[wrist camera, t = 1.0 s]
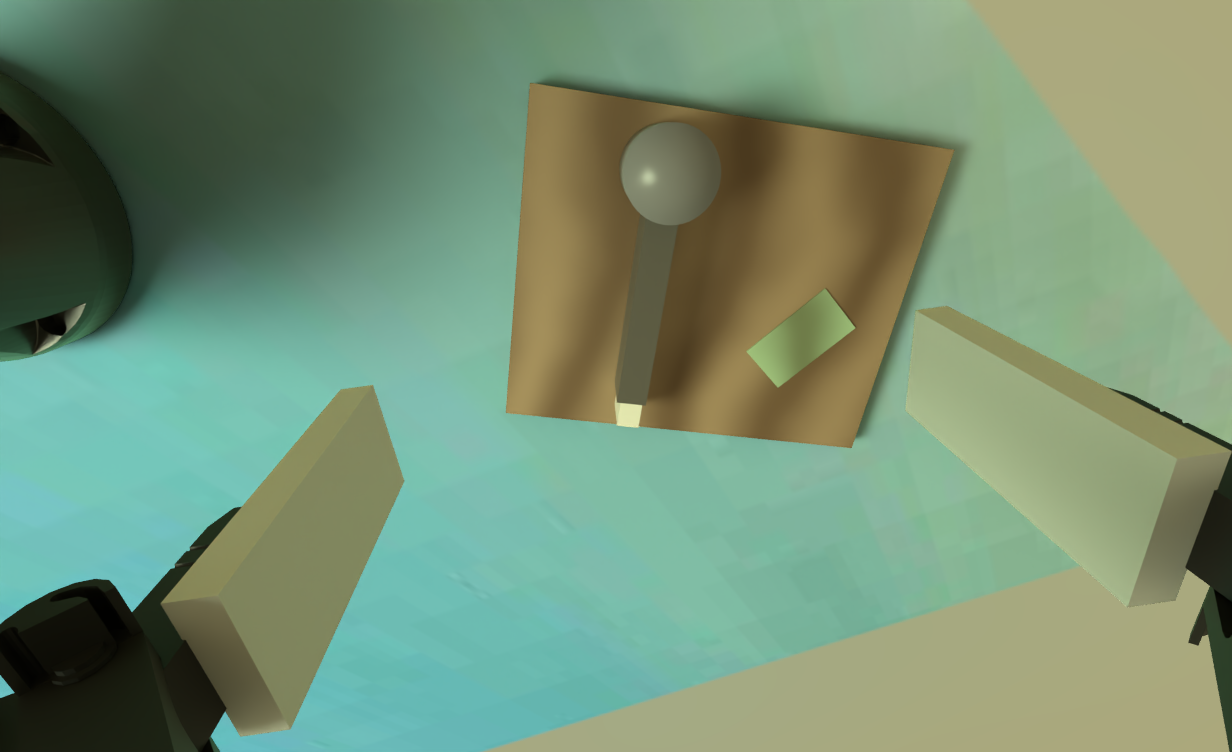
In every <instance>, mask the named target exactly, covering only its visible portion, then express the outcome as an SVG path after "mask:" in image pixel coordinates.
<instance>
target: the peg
mask: <svg viewBox="0 0 1232 752" xmlns="http://www.w3.org/2000/svg"><path fill="white" fill-rule="evenodd" d="M619 174H620V180H621V184H622V187H623V189H624V191H625V193H626V195H627V196H628V198H629V200H630V202H631V203H632V205H633V206H634V208H635V209H636V210H637V211H638V212H639V213H640V218H639V225H638V231H637V238H636V244H635V251H634V258H633V264H632V271H631V277H630V284H629V290H628V297H627V303H626V310H625V317H624V323H623V330H622V336H621V343H620V349H619V356H618V363H617V369H616V376H615V390H616V398H615V411H616V421H617V426H626V427H636V428H638V427H639V421H640V415H641V410H642V405H644V406H646V402H647V397H648V391H649V385H650V380H651V374H652V369H653V363H654V357H655V352H656V346H657V341H658V335H659V329H660V324H661V318H662V313H663V307H664V301H665V296H666V290H667V285H668V279H669V273H670V268H671V262H672V257H673V251H674V246H675V240H676V234H677V229H678V225H679V224H684V223H686V222H689V221H691V220H693V219H695V218H697V217H698V216H700V215H701V214H702V213H703V212H704V211H705V210H706V209H707V208H708V207H709V206H710V204H711V203H712V201H713V200H714V198H715V196H716V194H717V191H718V189H719V185H720V180H721V163H720V158H719V155H718V152H717V150H716V148H715V146H714V144H713V143H712V141H711V140H710V139H709V138H708V137H707V135H706V134H704V133H703V132H702V131H701V130H699V129H697V128H696V127H694V126H691V125H689V124H685V123H678V122H661V123H654V124H651V125H648V126H646V127H644V128H642V129H640V130H639V131H637V132H636V133H635V134H634V135H633V136H632V137H631V138H630V140H629V141H628V142H627V144H626V145H625V147H624V150H623V152H622V155H621V159H620V165H619Z"/></svg>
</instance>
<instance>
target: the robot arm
mask: <svg viewBox="0 0 1232 752" xmlns="http://www.w3.org/2000/svg"><path fill="white" fill-rule="evenodd" d="M131 269H132V241H131V234H130V229H129V224H128V220H127V217H126V214H125V210H124V207H123V205H122V202H121V199H120V197H119V195H118V193H117V190H116V188H115V186H114V184H113V182H112V181H111V179H110V177H109V175H108V173H107V172H106V170H105V168H104V167H103V165H102V164H101V162H100V161H99V159H98V158H97V156H96V155H95V153H94V152H93V151H92V149H91V148H90V147H89V146H88V144H87V143H86V142H85V141H84V139H83V138H82V137H81V136H80V135H79V134H78V132H77V131H76V130H75V129H74V128H73V127H72V126H71V125H70V124H69V123H68V122H67V121H66V120H65V119H64V118H63V117H62V116H61V115H60V114H59V113H58V112H56V111H55V110H54V109H53V108H52V107H51V106H49V105H48V104H47V103H46V102H45V101H43V100H42V99H41V98H39V97H38V96H37V95H35V94H34V93H33V92H31V91H30V90H28V89H27V88H26V87H24V86H23V85H21V84H20V83H18V82H16V81H15V80H13V79H11V78H10V77H8V76H6V75H4V74H2V73H1V72H0V362H2V361H12V360H19V359H24V358H29V357H33V356H37V355H40V354H44V353H47V352H49V351H52V350H54V349H57V348H59V347H61V346H64V345H66V344H68V343H71V342H73V341H76V340H78V339H80V338H82V337H84V336H86V335H88V334H90V333H92V332H93V331H95V330H96V329H98V328H99V327H100V326H101V325H103V324H104V323H105V322H106V321H107V320H108V319H109V318H110V317H111V316H112V314H113V313H114V312H115V311H116V309H117V308H118V306H119V305H120V303H121V301H122V299H123V297H124V295H125V292H126V290H127V287H128V284H129V280H130V275H131ZM905 411H906V412H908V413H909V414H910V415H911V416H912V417H913V418H914V419H915V420H917V421H918V422H919V423H920V424H921V425H922V426H923V427H924V428H926V429H927V430H928V431H929V432H930V433H931V434H932V435H933V436H935V437H936V438H937V439H938V440H939V441H940V442H941V443H943V444H944V445H945V446H946V447H947V448H948V449H949V450H950V451H952V452H953V453H954V454H955V455H956V456H957V457H958V458H959V459H961V460H962V461H963V462H964V463H965V464H966V465H967V466H968V467H970V468H971V469H972V470H973V471H974V472H975V473H976V474H977V475H979V476H980V477H981V478H982V479H983V480H984V481H985V482H987V483H988V484H989V485H990V486H991V487H992V488H993V489H994V490H996V491H997V492H998V493H999V494H1000V495H1001V496H1002V497H1003V498H1005V499H1006V500H1007V501H1008V502H1009V503H1010V504H1011V505H1012V506H1014V507H1015V508H1016V509H1017V510H1018V511H1019V512H1020V513H1021V514H1023V515H1024V516H1025V517H1026V518H1027V519H1028V520H1029V521H1031V522H1032V523H1033V524H1034V525H1035V526H1036V527H1037V528H1038V529H1040V530H1041V531H1042V532H1043V533H1044V534H1045V535H1046V536H1047V537H1049V538H1050V539H1051V540H1052V541H1053V542H1054V543H1055V544H1056V545H1058V546H1059V547H1060V548H1061V549H1062V550H1063V551H1064V552H1065V553H1067V554H1068V555H1069V556H1070V557H1071V558H1072V559H1073V560H1075V561H1076V562H1077V563H1078V564H1079V565H1080V566H1081V567H1082V568H1084V569H1085V570H1086V571H1087V572H1088V573H1089V574H1090V575H1092V576H1093V577H1094V578H1095V579H1096V580H1097V581H1099V583H1101V584H1102V585H1103V586H1104V587H1105V588H1106V589H1107V590H1108V591H1109V592H1111V593H1112V594H1113V595H1114V596H1115V597H1116V598H1117V599H1119V600H1120V601H1121V602H1122V603H1123V604H1124V605H1125V606H1126V607H1134V606H1140V605H1147V604H1154V603H1161V602H1168V601H1174V600H1176V597H1177V595H1178V592H1179V589H1180V587H1181V584H1182V581H1183V579H1184V576H1185V574H1186V571H1187V569H1188V570H1189V571H1191V572H1192V573H1193V574H1195V575H1196V576H1197V577H1199V578H1200V579H1202V580H1203V581H1204V582H1206V583H1207V584H1208V585H1210V587H1209V590H1208V592H1207V595H1206V598H1205V600H1204V602H1203V604H1202V607H1201V609H1200V612H1199V614H1198V617H1197V619H1196V622H1195V624H1194V627H1193V629H1192V632H1191V634H1190V638H1189V643H1192V644H1195V645H1199V642H1200V640H1201V638H1202V636H1205V635H1208V636H1209V641H1210V647H1211V652H1212V658H1213V663H1214V669H1215V674H1216V680H1217V685H1218V691H1219V696H1220V702H1221V706H1222V712H1223V717H1224V723H1225V728H1226V734H1227V740H1228V745H1229V751H1230V752H1232V445H1231V444H1229V443H1227V442H1225V441H1223V440H1221V439H1219V438H1217V437H1215V436H1213V435H1211V434H1209V433H1207V432H1205V431H1203V430H1201V429H1199V428H1197V427H1195V426H1193V425H1191V424H1189V423H1183V422H1182V420H1181V419H1179V418H1177V417H1175V416H1173V415H1171V414H1169V413H1167V412H1165V411H1164V412H1160V409H1159V408H1157V407H1155V406H1153V405H1151V404H1149V403H1147V402H1145V401H1143V400H1141V399H1139V398H1137V397H1135V396H1133V395H1131V394H1127V393H1124V392H1121V391H1117V390H1114V389H1111V388H1107V387H1105V386H1103V385H1101V384H1099V383H1097V382H1095V381H1093V380H1091V379H1089V378H1087V377H1085V376H1083V375H1081V374H1079V373H1077V372H1075V371H1073V370H1071V369H1070V368H1068V367H1066V366H1064V365H1062V364H1060V363H1058V362H1056V361H1054V360H1052V359H1050V358H1048V357H1046V356H1044V355H1042V354H1040V353H1038V352H1036V351H1034V350H1032V349H1030V348H1028V347H1026V346H1024V345H1022V344H1020V343H1018V342H1017V341H1015V340H1013V339H1011V338H1009V337H1007V336H1005V335H1003V334H1001V333H999V332H997V331H995V330H993V329H991V328H989V327H987V326H985V325H983V324H981V323H979V322H977V321H975V320H973V319H971V318H969V317H967V316H965V315H964V314H962V313H960V312H958V311H956V310H954V309H952V308H950V307H948V306H943V307H936V308H928V309H921V310H916V311H915V321H914V331H913V341H912V350H911V360H910V370H909V380H908V390H907V400H906V410H905ZM403 483H404V479H403V476H402V472H401V469H400V466H399V463H398V460H397V457H396V454H395V451H394V448H393V445H392V442H391V439H390V436H389V433H388V430H387V427H386V424H385V421H384V418H383V414H382V411H381V408H380V405H379V402H378V399H377V396H376V393H375V390H374V387H373V385H370V386H363V387H355V388H348V389H341V390H340V391H339V392H338V393H337V395H336V396H335V397H334V398H333V399H332V401H331V402H330V403H329V404H328V405H327V406H326V408H325V409H324V410H323V411H322V412H321V414H320V415H319V416H318V417H317V418H316V420H315V421H314V422H313V423H312V424H311V425H310V427H309V428H308V429H307V430H306V431H305V433H304V434H303V435H302V436H301V437H300V439H299V440H298V441H297V442H296V443H295V444H294V446H293V447H292V448H291V449H290V450H289V452H288V453H287V454H286V455H285V456H284V458H283V459H282V460H281V461H280V462H279V463H278V465H277V466H276V467H275V468H274V469H273V471H272V472H271V473H270V474H269V475H268V477H267V478H266V479H265V480H264V481H263V482H262V484H261V485H260V486H259V487H258V488H257V490H256V491H255V492H254V493H253V494H252V495H251V497H250V498H249V499H248V500H247V501H246V503H245V504H244V505H243V506H242V507H237V508H233V509H232V510H231V511H229V512H228V513H226V514H225V515H224V516H222V517H221V518H219V519H218V520H217V521H215V522H214V523H213V524H211V525H210V526H208V527H207V528H206V530H205V531H204V532H203V533H202V534H201V535H200V536H199V537H198V539H197V540H196V541H195V542H194V543H193V544H192V545H191V547H190V551H186V552H185V553H184V554H183V556H182V557H181V558H180V559H179V560H178V561H177V562H176V563H175V568H173V569H170V570H169V571H168V573H167V574H166V575H165V576H164V577H163V578H162V579H161V580H160V582H159V583H158V584H157V585H156V586H155V587H154V588H153V589H152V591H151V592H150V593H149V594H148V595H147V596H146V597H145V599H144V600H143V601H142V602H141V603H140V604H139V605H138V606H137V608H136V609H135V610H134V611H133V612H131V611H130V609H129V607H128V606H127V604H126V603H125V601H124V600H123V598H122V596H121V595H120V593H119V592H118V590H117V589H116V587H115V586H114V585H113V584H112V583H111V582H110V581H109V580H101V579H92V580H87V581H82V582H78V583H74V584H71V585H68V586H66V587H63V588H60V589H58V590H55V591H53V592H50V593H48V594H46V595H45V596H43V597H41V598H39V599H37V600H35V601H33V602H31V603H30V604H28V605H26V606H24V607H23V608H22V609H20V610H19V611H17V612H16V613H14V614H13V615H12V616H10V617H9V618H7V619H6V620H5V621H3V622H2V623H1V624H0V675H1V676H2V678H3V679H4V680H5V681H6V682H7V684H8V685H9V686H10V687H11V689H12V690H13V691H14V692H15V693H13V694H11V695H8V696H5V697H2V698H0V752H220V751H219V749H218V747H217V746H216V744H215V743H214V741H213V739H212V738H211V734H212V733H213V731H214V729H215V728H216V726H217V724H218V722H219V721H220V719H221V717H222V715H223V714H224V712H226V713H227V715H228V717H229V718H230V720H231V722H232V723H233V725H234V727H235V728H236V730H237V732H238V733H239V735H240V737H241V736H248V735H255V734H262V733H269V732H275V731H282V730H289V729H291V727H292V725H293V723H294V720H295V718H296V716H297V714H298V712H299V709H300V707H301V705H302V703H303V701H304V699H305V696H306V694H307V692H308V690H309V688H310V685H311V683H312V681H313V679H314V677H315V675H316V672H317V670H318V668H319V666H320V664H321V661H322V659H323V657H324V655H325V653H326V651H327V648H328V646H329V644H330V642H331V640H332V637H333V635H334V633H335V631H336V629H337V627H338V624H339V622H340V620H341V618H342V616H343V613H344V611H345V609H346V607H347V605H348V603H349V600H350V598H351V596H352V594H353V592H354V589H355V587H356V585H357V583H358V581H359V579H360V576H361V574H362V572H363V570H364V568H365V565H366V563H367V561H368V559H369V557H370V555H371V552H372V550H373V548H374V546H375V544H376V542H377V539H378V537H379V535H380V533H381V531H382V528H383V526H384V524H385V522H386V520H387V518H388V515H389V513H390V511H391V509H392V507H393V504H394V502H395V500H396V498H397V496H398V494H399V491H400V489H401V487H402V485H403Z"/></svg>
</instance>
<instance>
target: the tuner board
mask: <svg viewBox="0 0 1232 752" xmlns="http://www.w3.org/2000/svg"><path fill="white" fill-rule="evenodd" d="M661 122H678V123H685V124H689V125H691V126H694V127H696V128H697V129H699V130H701V131H702V132H703V133H704V134H706V135H707V137H708V138H709V139H710V140H711V141H712V143H713V144H714V146H715V148H716V150H717V152H718V155H719V158H720V163H721V180H720V185H719V189H718V191H717V194H716V196H715V198H714V200H713V201H712V203H711V204H710V206H709V207H708V208H707V209H706V210H705V211H704V212H703V213H702V214H701V215H700V216H698V217H697V218H695V219H693V220H691V221H689V222H686V223H684V224H679V225H678V229H677V234H676V240H675V246H674V251H673V257H672V262H671V268H670V273H669V279H668V285H667V290H666V296H665V301H664V307H663V313H662V318H661V324H660V329H659V335H658V341H657V346H656V352H655V357H654V363H653V369H652V374H651V380H650V385H649V391H648V397H647V402H646V406H644V405H642V410H641V415H640V421H639V426H640V427H650V428H660V429H670V430H680V431H689V432H699V433H709V434H719V435H729V436H739V437H748V438H758V439H768V440H778V441H788V442H798V443H807V444H817V445H827V446H837V447H847V448H852V445H853V442H854V439H855V436H856V434H857V431H858V428H859V425H860V422H861V419H862V416H863V413H864V410H865V408H866V405H867V402H868V399H869V396H870V393H871V390H872V387H873V384H874V381H875V379H876V376H877V373H878V370H879V367H880V364H881V361H882V358H883V355H884V353H885V350H886V347H887V344H888V341H889V338H890V335H891V332H892V329H893V326H894V324H895V321H896V318H897V315H898V312H899V309H900V306H901V303H902V300H903V298H904V295H905V292H906V289H907V286H908V283H909V280H910V277H911V274H912V271H913V269H914V266H915V263H916V260H917V257H918V254H919V251H920V248H921V245H922V243H923V240H924V237H925V234H926V231H927V228H928V225H929V222H930V219H931V216H932V214H933V211H934V208H935V205H936V202H937V199H938V196H939V193H940V190H941V188H942V185H943V182H944V179H945V176H946V173H947V170H948V167H949V164H950V162H951V159H952V156H953V153H954V150H952V149H945V148H939V147H933V146H926V145H920V144H914V143H907V142H901V141H895V140H888V139H882V138H876V137H870V136H863V135H857V134H851V133H844V132H838V131H832V130H825V129H819V128H813V127H806V126H800V125H794V124H787V123H781V122H775V121H768V120H762V119H756V118H749V117H743V116H737V115H730V114H724V113H718V112H711V111H705V110H699V109H692V108H686V107H680V106H673V105H667V104H661V103H654V102H648V101H642V100H635V99H629V98H623V97H616V96H610V95H604V94H597V93H591V92H585V91H579V90H572V89H566V88H560V87H553V86H547V85H541V84H534V83H530V91H529V104H528V118H527V132H526V145H525V159H524V173H523V186H522V200H521V214H520V227H519V241H518V255H517V268H516V282H515V296H514V309H513V323H512V336H511V350H510V364H509V377H508V391H507V405H506V413H513V414H522V415H532V416H542V417H552V418H562V419H571V420H581V421H591V422H601V423H611V424H617V421H616V411H615V398H616V390H615V376H616V369H617V363H618V356H619V349H620V343H621V336H622V330H623V323H624V317H625V310H626V303H627V297H628V290H629V284H630V277H631V271H632V264H633V258H634V251H635V244H636V238H637V231H638V225H639V218H640V213H639V212H638V211H637V210H636V209H635V208H634V206H633V205H632V203H631V202H630V200H629V198H628V196H627V195H626V193H625V191H624V189H623V187H622V184H621V180H620V174H619V165H620V159H621V155H622V152H623V150H624V147H625V145H626V144H627V142H628V141H629V140H630V138H631V137H632V136H633V135H634V134H635V133H636V132H637V131H639V130H640V129H642V128H644V127H646V126H648V125H651V124H654V123H661Z"/></svg>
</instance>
